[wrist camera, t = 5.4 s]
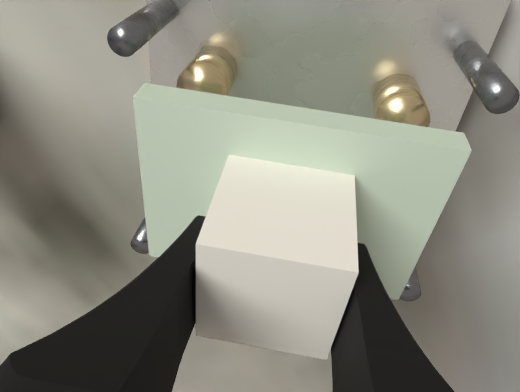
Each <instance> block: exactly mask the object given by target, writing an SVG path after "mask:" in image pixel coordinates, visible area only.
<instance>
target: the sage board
mask: <svg viewBox="0 0 520 392" xmlns="http://www.w3.org/2000/svg"><path fill="white" fill-rule="evenodd" d="M133 105H134V114H135V124H136V133H137V143H138V153H139V162H140V172H141V182H142V191H143V201H144V211H145V220H146V230H147V240H148V249H149V256H153V257H160V256H161V255H162V254H163V252H164V251H165V250H166V249H167V248H168V247H169V246H170V245H171V244H172V243H173V242H174V241H175V240H176V239H177V238H178V237H179V236H180V235H181V234H182V232H183V231H184V230H185V229H186V228H187V227H188V225H189V224H190V223H191V222H192V221H193V219H194V218H195V217H196V216H198V215H200V216H206V217H205V220H204V223H203V225H202V228H201V231H200V233H199V236H198V239H197V241H196V335H197V336H202V337H207V338H213V339H218V340H223V341H229V342H234V343H239V344H245V345H250V346H255V347H260V348H266V349H271V350H276V351H282V352H287V353H292V354H298V355H303V356H308V357H313V358H319V359H324V360H327V357H328V354H329V352H330V349H331V346H332V343H333V341H334V338H335V335H336V333H337V330H338V327H339V324H340V322H341V319H342V316H343V314H344V311H345V308H346V306H347V303H348V300H349V297H350V295H351V292H352V289H353V287H354V284H355V281H356V278H357V276H358V273H359V269H358V244H357V243H362V244H365V246H366V247H367V249H368V252H369V254H370V257H371V259H372V262H373V264H374V266H375V269H376V271H377V273H378V275H379V278H380V280H381V282H382V284H383V286H384V288H385V290H386V292H387V294H388V296H389V298H390V299H393V300H399V298H400V296H401V294H402V292H403V290H404V288H405V286H406V284H407V282H408V280H409V278H410V276H411V273H412V271H413V269H414V267H415V265H416V263H417V261H418V259H419V257H420V255H421V253H422V251H423V249H424V247H425V245H426V243H427V241H428V239H429V237H430V235H431V233H432V231H433V229H434V227H435V225H436V223H437V221H438V218H439V216H440V214H441V212H442V210H443V208H444V206H445V204H446V202H447V200H448V198H449V196H450V194H451V192H452V190H453V188H454V186H455V184H456V182H457V180H458V178H459V176H460V174H461V172H462V170H463V168H464V166H465V163H466V161H467V159H468V157H469V155H470V153H471V151H472V150H471V148H470V145H469V143H468V141H467V138H466V136H465V134H464V133H462V132H455V131H449V130H442V129H436V128H430V127H423V126H417V125H411V124H404V123H398V122H391V121H385V120H379V119H372V118H366V117H360V116H353V115H347V114H340V113H334V112H328V111H321V110H315V109H309V108H302V107H296V106H289V105H283V104H277V103H270V102H264V101H258V100H251V99H245V98H238V97H232V96H226V95H219V94H213V93H207V92H200V91H194V90H187V89H181V88H175V87H168V86H162V85H155V84H149V83H144V84H143V85H142V86H141V88H140V89H139V90H138V91H137V92H136V93H135V95H134V96H133Z"/></svg>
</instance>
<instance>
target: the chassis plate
mask: <svg viewBox="0 0 520 392" xmlns="http://www.w3.org/2000/svg"><path fill="white" fill-rule="evenodd" d="M510 2H511V0H146V3H147V5H146V6H145V7H143V8H142V9H140V10H138V11H137V12H135V13H134V14H132V15H131V16H129V17H128V18H126V19H125V20H123V21H122V22H120V23H119V24H117V25H116V26H114V27H113V28H111V29H110V30H109V32H108V36H107V40H108V44H109V46H110V48H111V49H112V50H113V51H114V52H115V53H116V54H118V55H120V56H123V57H128V56H131V55H132V54H134V53H135V52H136V51H137V50H138V49H139V48H141V47H142V46H143V45H144V44H145V43H146V42H148V41H149V57H150V75H151V84H155V85H162V86H168V87H175V88H181V89H187V90H194V91H200V92H207V93H213V94H219V95H226V96H232V97H238V98H245V99H251V100H258V101H264V102H270V103H277V104H283V105H289V106H296V107H302V108H309V109H315V110H321V111H328V112H334V113H340V114H347V115H353V116H360V117H366V118H372V119H379V120H385V121H391V122H398V123H404V124H411V125H417V126H423V127H430V128H436V129H442V130H449V131H456V129H457V126H458V124H459V122H460V119H461V117H462V115H463V112H464V110H465V108H466V105H467V103H468V101H469V98H470V96H471V94H472V91H473V89H474V91H475V92H476V94H477V95H478V97H479V98H480V100H481V101H482V103H483V104H484V106H485V107H486V109H487V110H488V111H489V112H491V113H494V114H501V113H505V112H507V111H509V110H511V109H512V108H513V107H514V106H515V105H516V104H517V102H518V100H519V91H518V89H517V88H516V87H515V86H514V84H513V83H512V82H511V81H510V80H509V79H508V77H507V76H506V75H505V74H504V73H503V72H502V71H501V69H500V68H499V67H498V66H497V65H496V64H495V62H494V61H493V60H492V59H491V58H490V57H489V56H488V54H489V51H490V49H491V47H492V44H493V42H494V40H495V37H496V35H497V33H498V30H499V28H500V26H501V23H502V21H503V18H504V16H505V14H506V11H507V9H508V7H509V4H510ZM131 247H132V248H133V249H134V250H135V251H136V252H138V253H141V254H147V253H149V249H148V240H147V230H146V220H145V218H144V220H143V221H142V223H141V225H140V227H139V228H138V230H137V232H136V234H135V235H134V237H133V239H132V241H131ZM420 295H421V291H420V286H419V281H418V276H417V271H416V266H415V267H414V269H413V271H412V273H411V276H410V278H409V280H408V282H407V284H406V286H405V288H404V290H403V292H402V294H401V296H400V299H402V300H404V301H414V300H416V299H418V298H419V297H420Z"/></svg>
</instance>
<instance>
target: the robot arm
mask: <svg viewBox="0 0 520 392" xmlns="http://www.w3.org/2000/svg"><path fill="white" fill-rule="evenodd" d="M205 217H206V216H200V215H198V216H196V217H195V218H194V219H193V221H192V222H191V223H190V224H189V225H188V227H187V228H186V229H185V230H184V231H183V232H182V234H181V235H180V236H179V237H178V238H177V239H176V240H175V241H174V242H173V243H172V244H171V245H170V246H169V247H168V248H167V249H166V250H165V251H164V252H163V254H162V255H161V256H160V257H158V258H157V259H156V260H155V261H154V262H153V263H152V264H151V265H150V266H149V267H148V268H146V269H145V270H144V271H143V272H142V273H141V274H140V275H139V276H137V277H136V278H135V279H134V280H133V281H131V282H130V283H129V284H128V285H126V286H125V287H124V288H123V289H121V290H120V291H119V292H117V293H116V294H115V295H113V296H112V297H110V298H109V299H107V300H106V301H105V302H103V303H102V304H100V305H99V306H97V307H96V308H94V309H93V310H91V311H90V312H88V313H87V314H85V315H83V316H82V317H80V318H78V319H76V320H75V321H73V322H71V323H70V324H68V325H66V326H64V327H63V328H61V329H59V330H57V331H56V332H54V333H52V334H50V335H48V336H46V337H44V338H42V339H40V340H38V341H36V342H34V343H32V344H30V345H28V346H26V347H23V348H21V349H19V350H17V351H15V352H13V353H11V354H10V355H9V356H8V357H7V359H6V360H5V361H4V362H3V363H2V364H1V365H0V392H172V389H173V385H174V382H175V378H176V375H177V371H178V368H179V364H180V362H181V359H182V356H183V353H184V350H185V348H186V345H187V343H188V340H189V337H190V335H191V332H192V330H193V327H194V325H195V322H196V241H197V239H198V236H199V233H200V231H201V228H202V225H203V223H204V220H205ZM357 244H358V269H359V273H358V276H357V278H356V281H355V284H354V287H353V289H352V292H351V295H350V297H349V300H348V303H347V306H346V308H345V311H344V314H343V316H342V319H341V322H340V324H339V327H338V330H337V333H336V335H335V338H334V341H333V343H332V346H331V357H332V377H333V392H454V391H453V390H452V388H451V387H450V386H449V385H448V384H447V382H446V381H445V380H444V379H443V378H442V376H441V375H440V374H439V373H438V372H437V370H436V369H435V368H434V366H433V365H432V364H431V362H430V361H429V360H428V358H427V357H426V356H425V354H424V353H423V351H422V350H421V349H420V347H419V346H418V344H417V343H416V341H415V340H414V338H413V337H412V335H411V334H410V332H409V331H408V329H407V327H406V326H405V324H404V322H403V321H402V319H401V317H400V316H399V314H398V312H397V311H396V309H395V307H394V305H393V303H392V301H391V299H390V298H389V296H388V294H387V292H386V290H385V288H384V286H383V284H382V282H381V280H380V278H379V275H378V273H377V271H376V269H375V266H374V264H373V262H372V259H371V257H370V254H369V252H368V249H367V247H366V246H365V244H362V243H357Z"/></svg>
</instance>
